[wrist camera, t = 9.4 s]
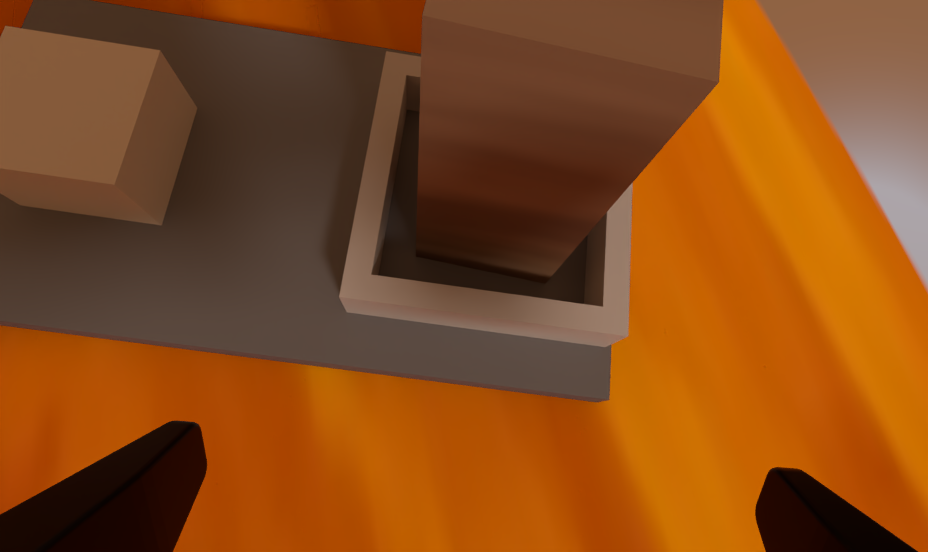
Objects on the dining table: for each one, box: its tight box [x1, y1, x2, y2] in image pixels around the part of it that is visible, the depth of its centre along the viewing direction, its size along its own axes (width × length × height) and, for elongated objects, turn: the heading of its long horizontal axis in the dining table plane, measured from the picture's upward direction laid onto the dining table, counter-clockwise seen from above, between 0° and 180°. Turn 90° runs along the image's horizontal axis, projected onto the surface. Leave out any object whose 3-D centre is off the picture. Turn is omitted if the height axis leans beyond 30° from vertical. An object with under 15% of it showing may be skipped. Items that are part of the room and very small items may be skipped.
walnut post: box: [416, 0, 723, 284], centre depth 14 cm, size 4×4×11 cm
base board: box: [0, 0, 632, 402], centre depth 18 cm, size 22×12×4 cm, turn 83°
